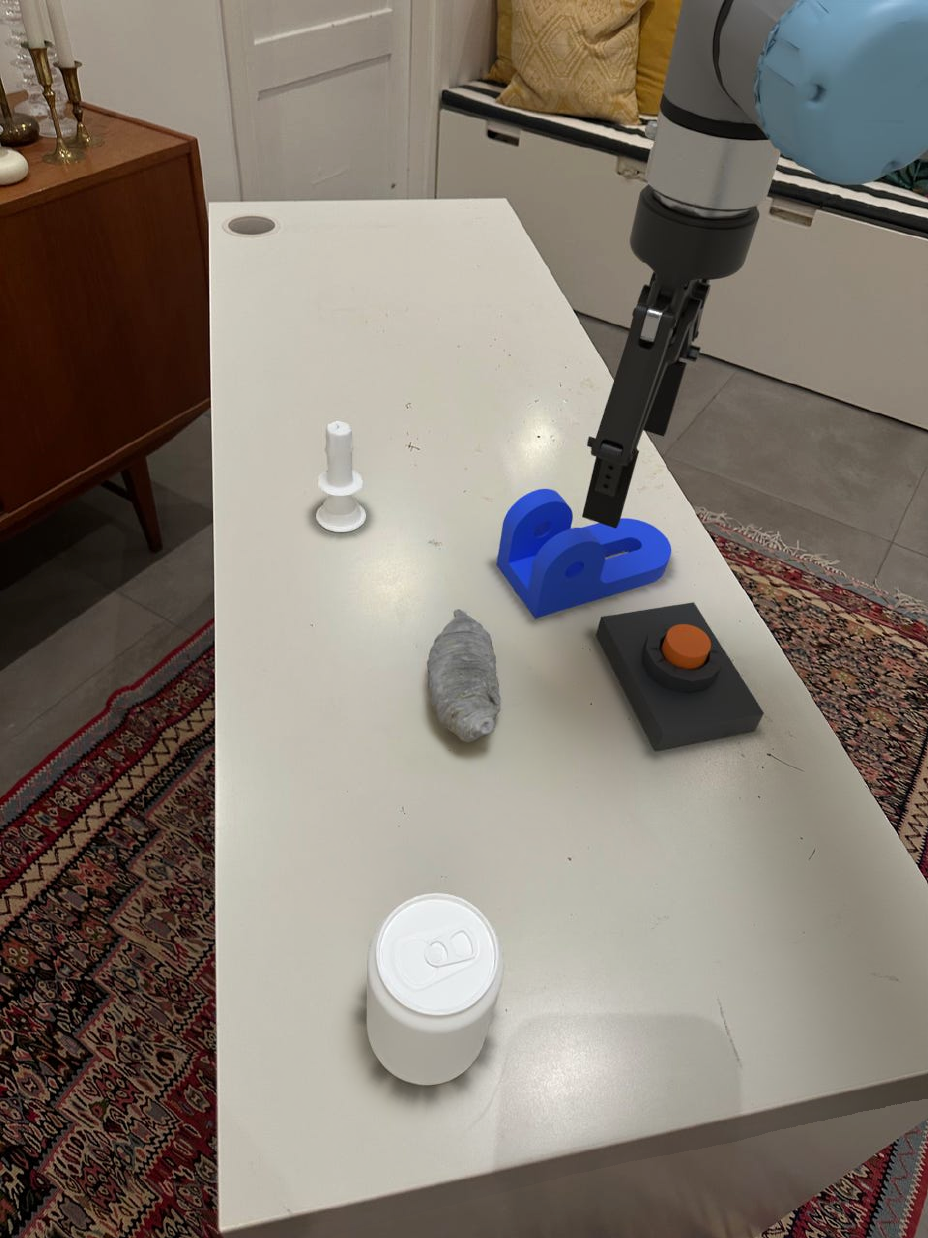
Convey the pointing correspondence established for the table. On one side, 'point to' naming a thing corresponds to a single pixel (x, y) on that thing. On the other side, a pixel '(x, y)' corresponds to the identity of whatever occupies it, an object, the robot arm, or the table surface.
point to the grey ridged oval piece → (464, 678)
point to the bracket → (574, 555)
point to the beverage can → (432, 987)
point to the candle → (340, 482)
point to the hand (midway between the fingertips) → (626, 472)
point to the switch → (686, 646)
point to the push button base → (676, 680)
